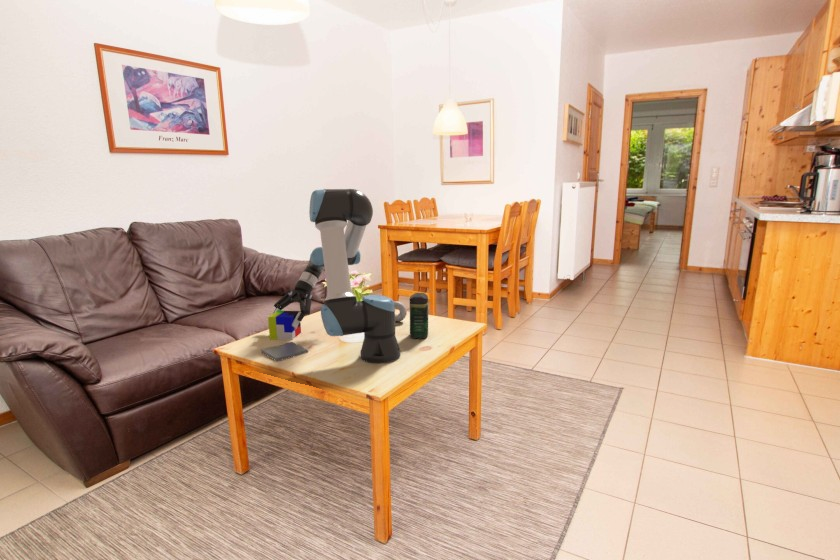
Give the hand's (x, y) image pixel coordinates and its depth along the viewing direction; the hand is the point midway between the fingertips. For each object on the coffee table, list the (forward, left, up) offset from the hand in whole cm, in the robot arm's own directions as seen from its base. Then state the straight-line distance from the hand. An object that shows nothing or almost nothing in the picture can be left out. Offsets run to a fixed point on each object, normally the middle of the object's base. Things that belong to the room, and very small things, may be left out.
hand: (282, 324), depth 196 cm
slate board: (-19, +9, -5) cm, 21 cm away
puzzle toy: (0, -1, -6) cm, 6 cm away
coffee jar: (-42, -42, -6) cm, 59 cm away
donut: (-19, -49, -6) cm, 53 cm away
